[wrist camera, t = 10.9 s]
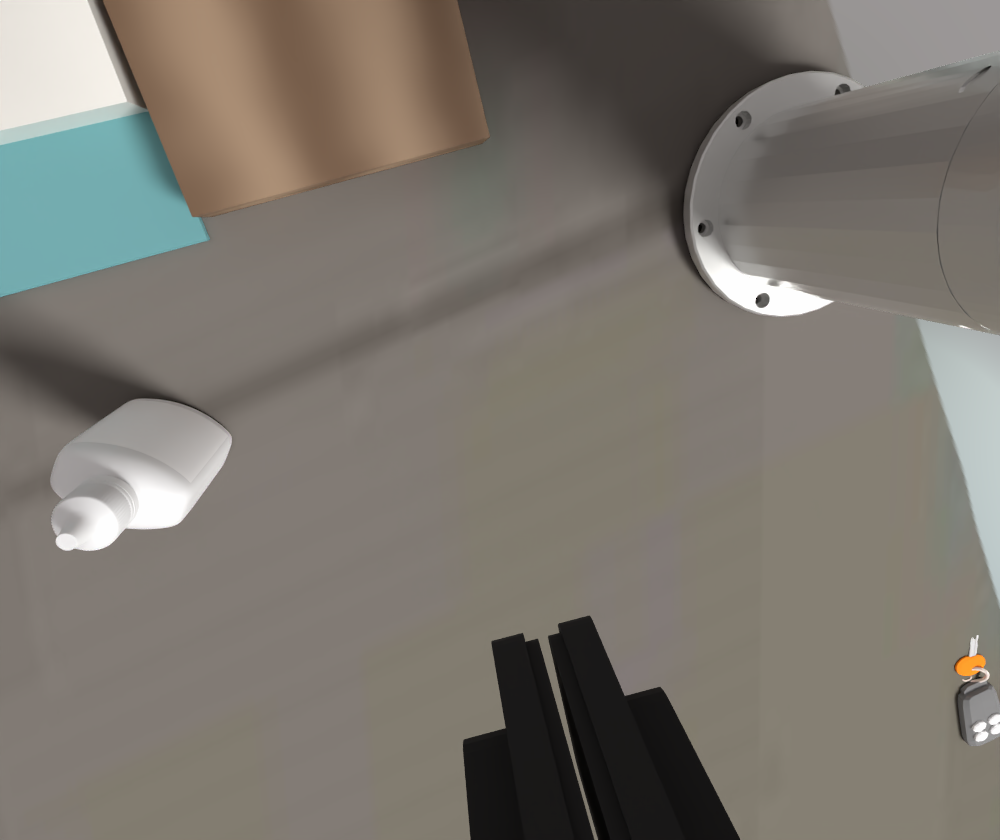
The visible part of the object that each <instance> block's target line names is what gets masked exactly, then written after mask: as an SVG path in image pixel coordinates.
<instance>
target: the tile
mask: <svg viewBox="0 0 1000 840" xmlns="http://www.w3.org/2000/svg"><path fill="white" fill-rule="evenodd" d="M147 111H148V109H147V106H146V104H145V102H144V99H143V97H142V94H141V92H140V89H139V87H138V85H137V82H136V80H135V77H134V75H133V73H132V70H131V68H130V65H129V63H128V60H127V58H126V56H125V53H124V51H123V48H122V46H121V43H120V41H119V39H118V36H117V34H116V31H115V29H114V26H113V24H112V22H111V19H110V17H109V14H108V12H107V10H106V7H105V5H104V2H103V0H0V145H4V144H8V143H12V142H17V141H21V140H25V139H30V138H34V137H38V136H43V135H47V134H51V133H56V132H60V131H65V130H69V129H73V128H78V127H82V126H86V125H91V124H95V123H99V122H104V121H108V120H112V119H117V118H121V117H126V116H130V115H134V114H139V113H143V112H147Z"/></svg>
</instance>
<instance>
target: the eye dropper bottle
mask: <svg viewBox="0 0 1000 840" xmlns="http://www.w3.org/2000/svg"><path fill="white" fill-rule="evenodd" d="M231 444H232V437H231V435H230V433H229V432H228V431H227V430H226V429H225V428H224V427H223V426H222V425H220V424H219V423H218V422H216V421H215V420H214V419H212V418H211V417H209V416H207V415H206V414H204V413H202V412H200V411H198V410H196V409H194V408H191V407H189V406H186V405H183V404H180V403H176V402H172V401H167V400H160V399H146V398H143V399H134V400H131V401H128V402H127V403H125V404H124V405H122V406H121V407H119V408H118V409H116V410H115V411H113V412H112V413H111V414H109V415H108V416H106V417H105V418H103V419H102V420H100V421H99V422H97V423H96V424H95V425H93V426H92V427H90V428H89V429H87V430H86V431H85V432H83V433H82V434H80V435H79V436H77V437H76V438H75V439H73V440H72V441H71V442H69V443H68V444H67V445H66V446H65V447H64V448H63V449H62V450H61V451H60V452H59V454H58V456H57V459H56V461H55V464H54V467H53V470H52V473H51V478H50V481H51V486H52V488H53V490H54V491H55V492H56V493H57V494H58V495H59V496H60V497H61V498H62V500H61V501H60V502H59V503H58V504H57V505H56V507H55V508H54V510H53V513H52V516H51V518H52V519H51V521H52V522H51V523H52V527H53V530H54V532H55V534H56V535H57V538H56V544H57V546H58V547H59V548H61V549H63V550H72V549H74V548H76V549H80V550H87V551H89V550H90V551H92V550H99V549H102V548H105V547H106V546H108V545H110V544H111V543H112V542H114V540H115V539H116V538H117V537H118V536H119V535H120V534H121V533H122V531H123V530H124V529H125V528H130V529H159V528H166V527H171V526H174V525H177V524H179V523H180V522H181V521H182V520H183V519H184V517H185V516H186V515H187V514H188V512H189V511H190V510H191V509H192V507H193V506H194V505H195V503H196V502H197V501H198V499H199V498H200V496H201V495H202V494H203V492H204V491H205V490H206V488H207V487H208V485H209V484H210V483H211V481H212V480H213V478H214V477H215V476H216V474H217V473H218V472H219V470H220V469H221V467H222V466H223V464H224V462H225V460H226V457H227V455H228V452H229V450H230V447H231Z"/></svg>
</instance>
